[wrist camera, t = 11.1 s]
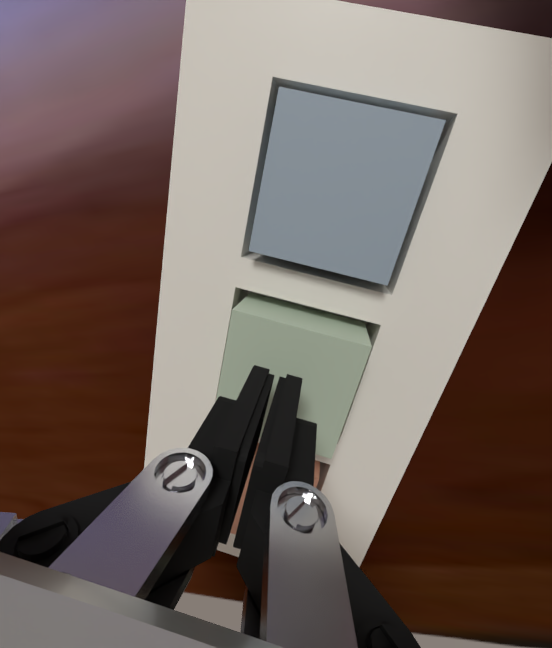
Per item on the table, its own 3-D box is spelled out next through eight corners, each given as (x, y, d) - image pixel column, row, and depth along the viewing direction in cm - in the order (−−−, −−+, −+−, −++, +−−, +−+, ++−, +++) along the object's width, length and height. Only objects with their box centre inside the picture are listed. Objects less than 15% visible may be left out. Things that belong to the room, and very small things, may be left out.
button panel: (539, 89, 11) (606, 47, 9) (344, 539, 20) (346, 593, 17) (221, 28, 12) (188, -26, 10) (165, 482, 21) (139, 523, 18)
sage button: (364, 322, 13) (371, 346, 11) (331, 418, 15) (331, 458, 13) (250, 292, 14) (232, 309, 11) (231, 389, 16) (211, 423, 13)
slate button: (421, 140, 12) (446, 119, 9) (377, 272, 13) (387, 285, 11) (290, 113, 12) (278, 86, 10) (264, 244, 14) (248, 250, 11)
